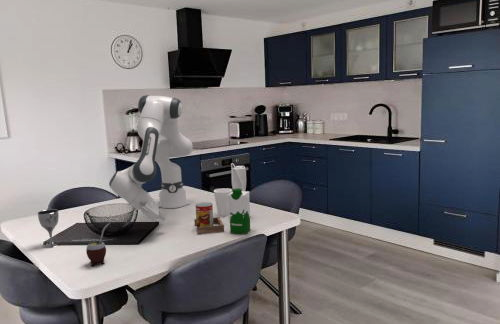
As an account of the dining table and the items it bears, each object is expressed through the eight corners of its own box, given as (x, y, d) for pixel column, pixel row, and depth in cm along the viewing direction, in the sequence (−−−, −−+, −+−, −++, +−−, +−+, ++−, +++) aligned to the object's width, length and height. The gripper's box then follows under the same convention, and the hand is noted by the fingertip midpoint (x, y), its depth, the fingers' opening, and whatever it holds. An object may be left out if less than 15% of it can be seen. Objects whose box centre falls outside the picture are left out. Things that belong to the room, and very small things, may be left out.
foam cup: (234, 212, 225) (233, 188, 223) (231, 217, 215) (230, 192, 213) (216, 212, 225) (215, 188, 223) (213, 217, 216) (212, 192, 214)
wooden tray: (194, 225, 204) (194, 219, 203) (219, 222, 206) (219, 216, 206) (197, 234, 190) (197, 228, 189) (224, 231, 192) (223, 225, 192)
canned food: (197, 226, 201) (196, 202, 199) (214, 226, 201) (212, 201, 200) (196, 232, 194) (194, 206, 192) (213, 231, 194) (211, 205, 192)
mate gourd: (83, 265, 158) (79, 227, 156) (98, 258, 166) (94, 221, 163) (99, 268, 156) (95, 229, 153) (113, 260, 163) (110, 222, 161)
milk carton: (228, 233, 189) (225, 190, 186) (235, 227, 198) (233, 185, 195) (246, 235, 186) (244, 191, 183) (252, 228, 195) (251, 186, 192)
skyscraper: (229, 219, 211) (227, 164, 207) (236, 215, 218) (233, 161, 214) (245, 220, 208) (242, 164, 204) (251, 216, 215) (249, 162, 211)
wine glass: (48, 249, 178) (44, 215, 175) (37, 246, 182) (33, 212, 179) (65, 243, 184) (62, 210, 182) (54, 240, 188) (51, 208, 186)
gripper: (144, 200, 180) (169, 220, 183) (146, 190, 199) (168, 208, 203) (134, 211, 179) (159, 231, 183) (137, 200, 199) (159, 218, 203)
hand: (164, 219), depth 193 cm, fingers closed
